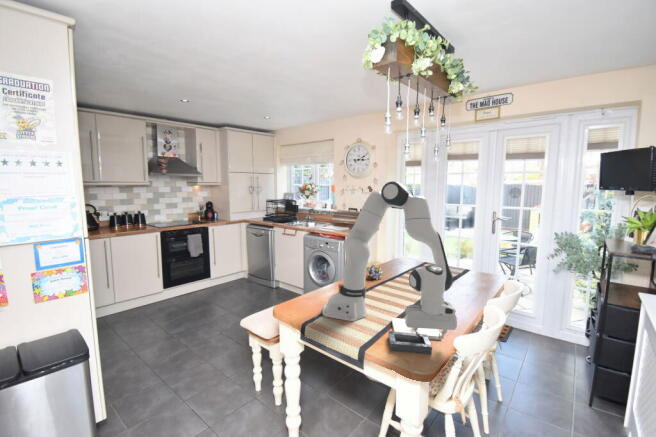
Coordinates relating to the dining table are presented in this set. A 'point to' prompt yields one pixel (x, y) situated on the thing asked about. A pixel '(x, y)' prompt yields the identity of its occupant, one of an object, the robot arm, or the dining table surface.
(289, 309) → the dining table surface
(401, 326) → the plate
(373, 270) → the passion flower
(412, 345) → the dark grey rectangular frame
